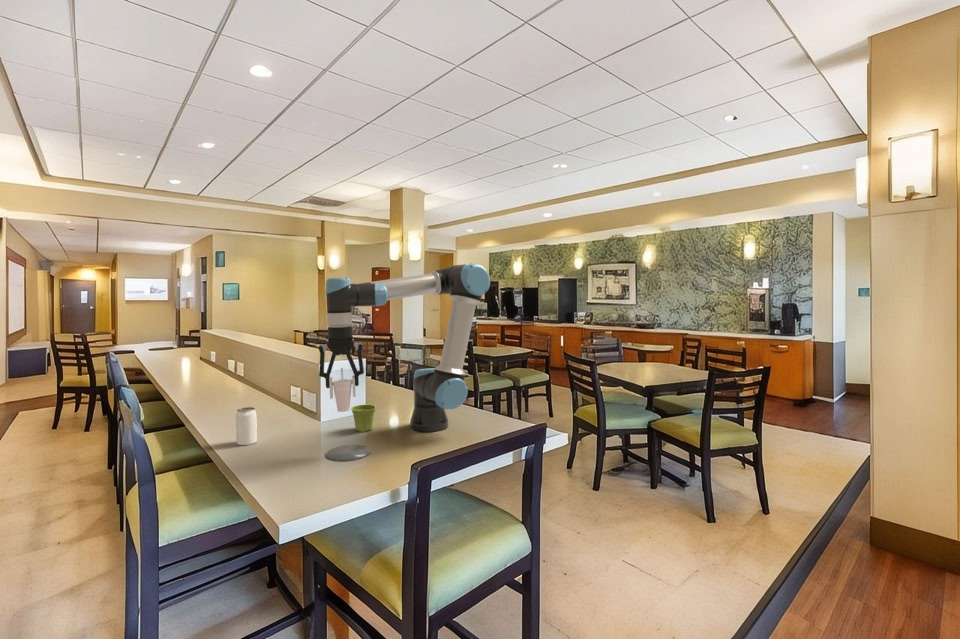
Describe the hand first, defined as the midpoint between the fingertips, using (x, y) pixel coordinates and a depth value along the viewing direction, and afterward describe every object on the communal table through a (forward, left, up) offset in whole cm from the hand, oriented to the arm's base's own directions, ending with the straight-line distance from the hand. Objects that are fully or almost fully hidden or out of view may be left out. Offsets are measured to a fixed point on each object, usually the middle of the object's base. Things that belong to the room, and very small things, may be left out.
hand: (343, 396), depth 150 cm
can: (+34, -21, -19) cm, 44 cm away
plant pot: (-6, -27, -19) cm, 34 cm away
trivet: (-1, -1, -19) cm, 19 cm away
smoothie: (0, 0, -5) cm, 5 cm away
